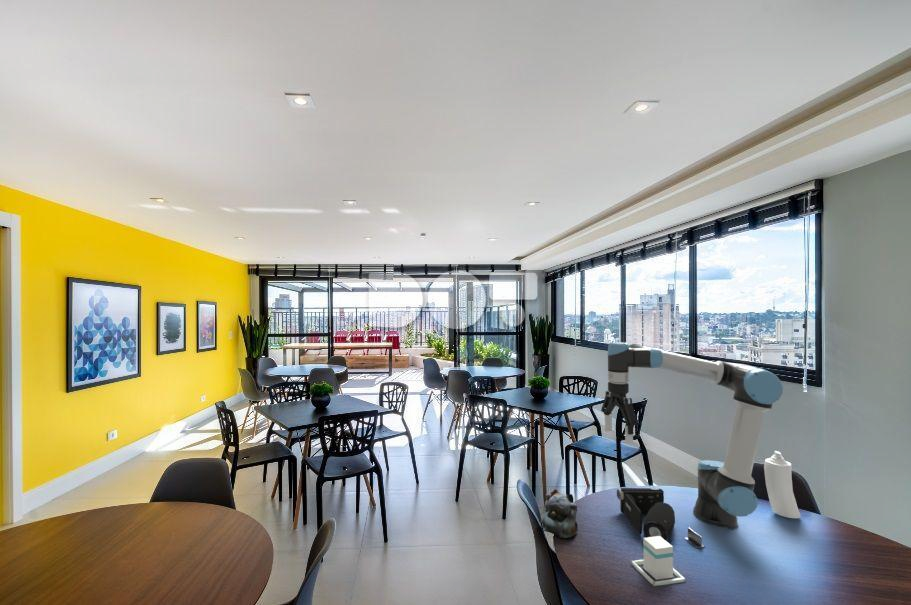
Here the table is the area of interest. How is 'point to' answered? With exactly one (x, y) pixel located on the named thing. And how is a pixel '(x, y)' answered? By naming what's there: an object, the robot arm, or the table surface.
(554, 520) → the lucky cat figurine
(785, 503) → the white bottle
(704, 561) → the table surface
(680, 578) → the tray
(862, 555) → the table surface
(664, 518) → the portable speaker
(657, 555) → the block
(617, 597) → the table surface
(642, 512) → the camcorder
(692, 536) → the card holder
